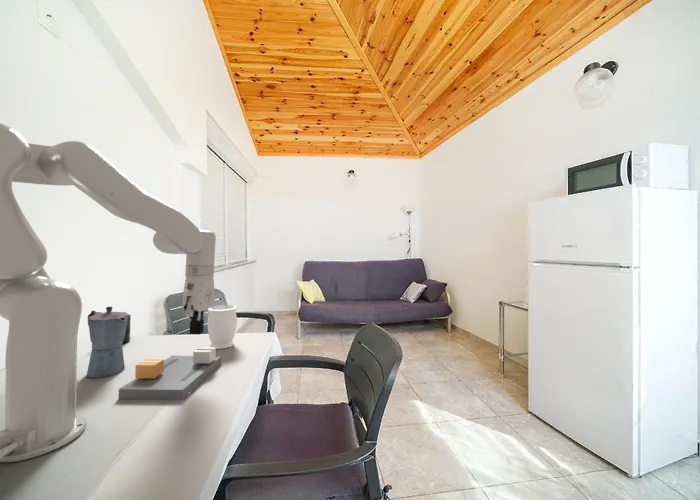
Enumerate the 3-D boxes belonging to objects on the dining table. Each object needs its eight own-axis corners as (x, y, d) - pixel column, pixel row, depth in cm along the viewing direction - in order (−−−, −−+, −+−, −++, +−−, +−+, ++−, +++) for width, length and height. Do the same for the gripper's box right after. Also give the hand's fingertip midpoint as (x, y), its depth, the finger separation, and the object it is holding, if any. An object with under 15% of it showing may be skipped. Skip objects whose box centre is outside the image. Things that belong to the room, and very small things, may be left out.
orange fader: (154, 378, 76) (154, 365, 76) (135, 378, 76) (135, 364, 76) (163, 371, 80) (163, 359, 80) (145, 371, 80) (146, 358, 80)
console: (182, 399, 71) (183, 389, 71) (118, 399, 71) (118, 388, 71) (221, 363, 93) (221, 356, 93) (172, 363, 93) (172, 355, 93)
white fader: (209, 363, 86) (209, 351, 86) (193, 363, 86) (193, 351, 86) (215, 358, 90) (215, 347, 90) (199, 358, 90) (200, 346, 90)
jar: (242, 344, 111) (242, 307, 111) (217, 352, 103) (218, 311, 103) (225, 339, 117) (226, 303, 117) (201, 346, 108) (202, 307, 108)
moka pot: (108, 382, 79) (109, 311, 79) (66, 376, 82) (67, 307, 82) (140, 368, 89) (141, 304, 88) (101, 363, 92) (102, 301, 92)
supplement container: (131, 343, 111) (131, 316, 111) (108, 346, 106) (108, 319, 106) (129, 338, 116) (130, 313, 116) (108, 342, 111) (108, 315, 111)
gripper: (199, 273, 77) (195, 341, 76) (223, 271, 92) (220, 327, 91) (171, 272, 77) (167, 340, 76) (200, 270, 92) (196, 326, 91)
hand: (196, 333), depth 84 cm, fingers closed
